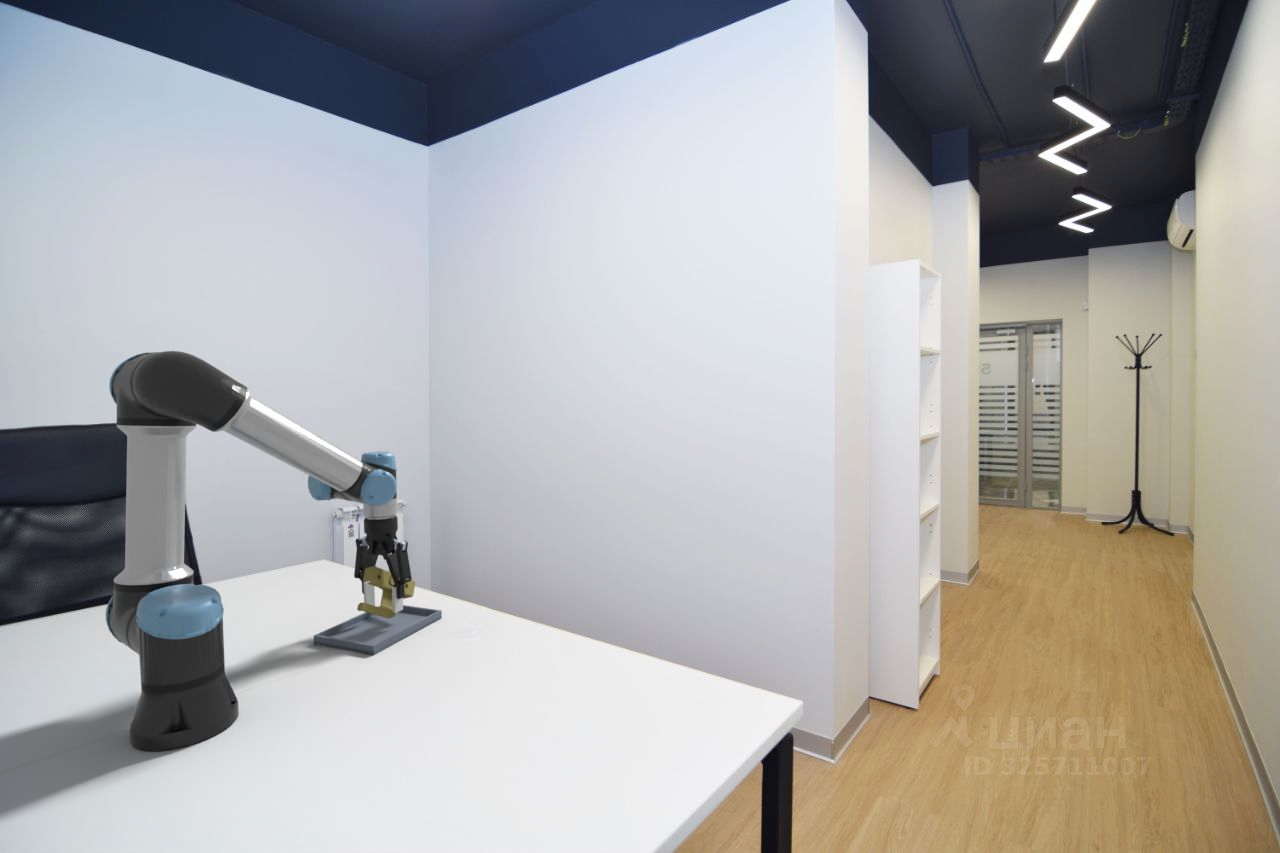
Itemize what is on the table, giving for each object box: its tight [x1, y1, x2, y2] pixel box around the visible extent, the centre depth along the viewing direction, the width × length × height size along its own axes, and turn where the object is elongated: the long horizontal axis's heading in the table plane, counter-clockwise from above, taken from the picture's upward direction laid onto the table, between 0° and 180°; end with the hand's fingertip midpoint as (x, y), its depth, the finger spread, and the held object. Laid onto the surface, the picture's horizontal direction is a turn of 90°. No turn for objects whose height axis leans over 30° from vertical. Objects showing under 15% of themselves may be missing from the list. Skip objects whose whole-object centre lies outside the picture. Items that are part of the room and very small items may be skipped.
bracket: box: [356, 565, 416, 618], centre depth 152 cm, size 10×14×10 cm
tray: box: [313, 604, 443, 656], centre depth 151 cm, size 23×17×2 cm
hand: (383, 608), depth 152 cm, fingers closed on bracket, 8 cm apart
